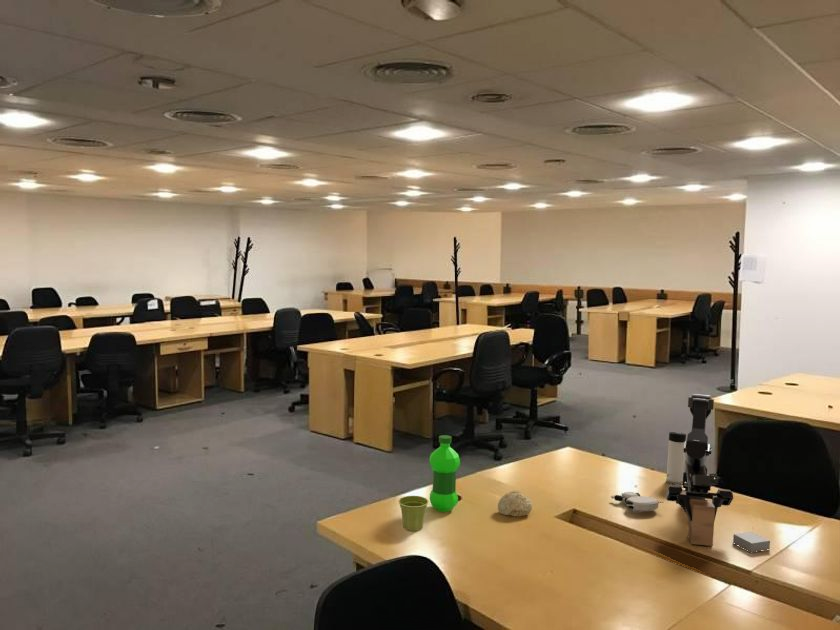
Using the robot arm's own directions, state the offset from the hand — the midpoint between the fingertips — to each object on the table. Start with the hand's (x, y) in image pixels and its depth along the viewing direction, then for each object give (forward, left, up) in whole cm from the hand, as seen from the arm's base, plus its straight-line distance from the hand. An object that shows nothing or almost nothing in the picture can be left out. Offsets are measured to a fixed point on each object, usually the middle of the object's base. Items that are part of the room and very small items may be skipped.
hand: (702, 521), depth 203 cm
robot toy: (0, -31, -8) cm, 32 cm away
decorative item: (+43, -38, -7) cm, 58 cm away
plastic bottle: (+65, -48, -7) cm, 82 cm away
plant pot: (+80, -36, -7) cm, 88 cm away
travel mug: (-32, -49, -7) cm, 59 cm away
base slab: (-14, +6, -7) cm, 16 cm away
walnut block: (-1, -1, -7) cm, 7 cm away
